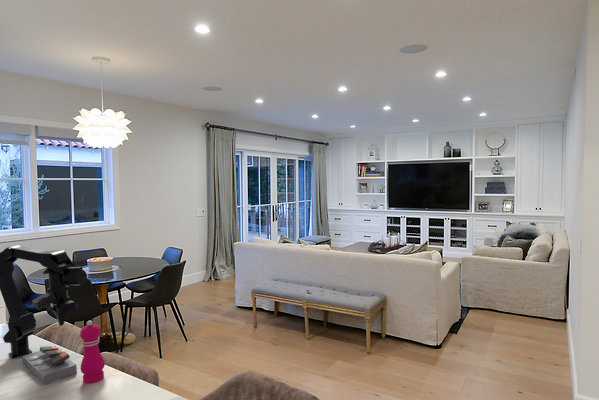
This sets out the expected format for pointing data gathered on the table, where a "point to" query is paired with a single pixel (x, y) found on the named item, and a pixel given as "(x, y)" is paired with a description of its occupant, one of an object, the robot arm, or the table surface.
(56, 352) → the rocker middle
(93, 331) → the pepper mill
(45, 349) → the rocker inner
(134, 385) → the table surface
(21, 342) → the robot arm
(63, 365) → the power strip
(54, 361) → the rocker outer
